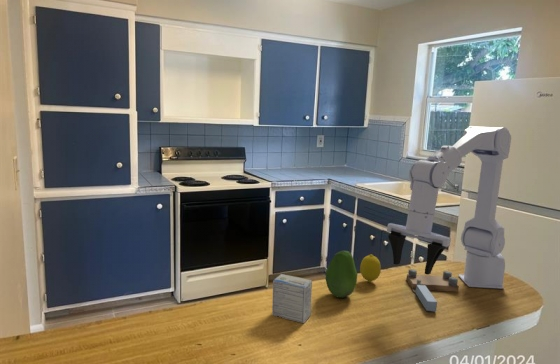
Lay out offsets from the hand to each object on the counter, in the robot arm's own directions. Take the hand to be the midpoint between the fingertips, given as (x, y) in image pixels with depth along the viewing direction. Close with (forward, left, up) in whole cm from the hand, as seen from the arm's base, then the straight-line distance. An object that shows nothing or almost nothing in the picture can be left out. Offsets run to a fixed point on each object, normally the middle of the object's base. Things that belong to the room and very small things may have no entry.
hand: (411, 268), depth 95 cm
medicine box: (+28, +7, -11) cm, 30 cm away
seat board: (-10, -15, -10) cm, 21 cm away
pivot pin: (-5, -11, -10) cm, 16 cm away
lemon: (+7, -15, -11) cm, 20 cm away
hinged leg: (-5, -4, -10) cm, 12 cm away
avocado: (+16, -5, -10) cm, 20 cm away
